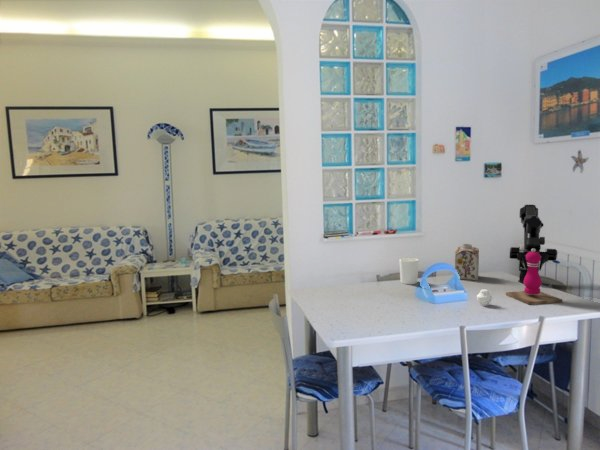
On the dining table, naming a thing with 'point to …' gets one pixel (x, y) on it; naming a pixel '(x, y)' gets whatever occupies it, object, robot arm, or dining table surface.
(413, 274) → the candle holder
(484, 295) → the white rounded lump
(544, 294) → the walnut board
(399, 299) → the dining table surface
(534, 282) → the pepper mill
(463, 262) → the decorative jar
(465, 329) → the dining table surface
